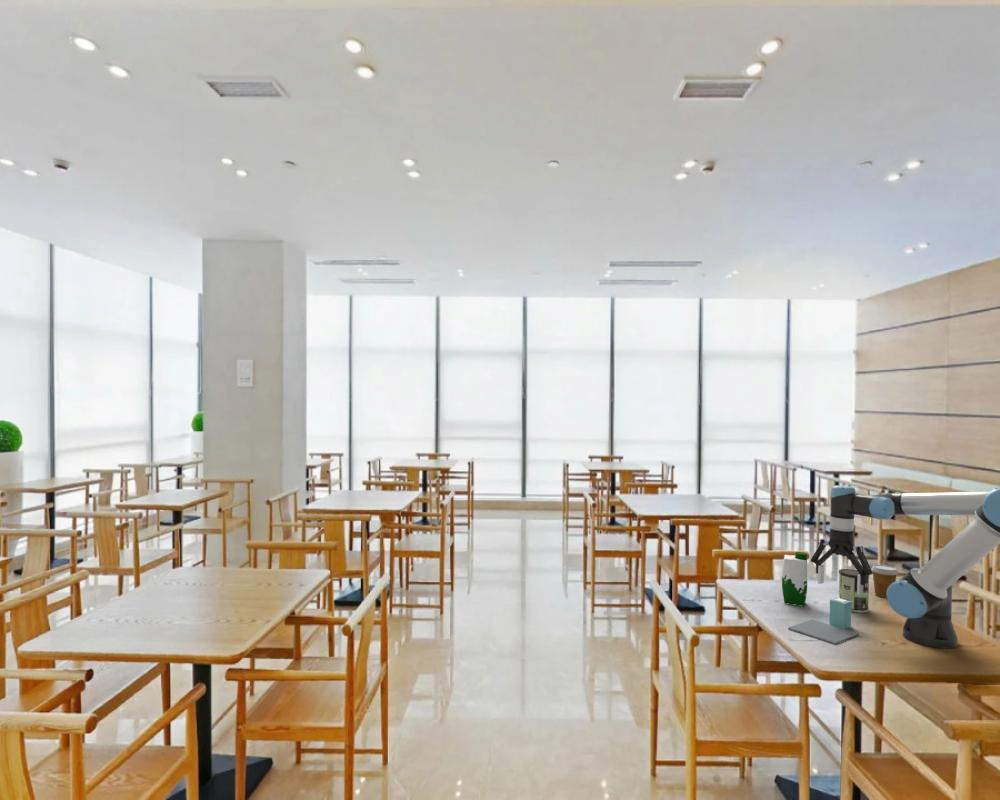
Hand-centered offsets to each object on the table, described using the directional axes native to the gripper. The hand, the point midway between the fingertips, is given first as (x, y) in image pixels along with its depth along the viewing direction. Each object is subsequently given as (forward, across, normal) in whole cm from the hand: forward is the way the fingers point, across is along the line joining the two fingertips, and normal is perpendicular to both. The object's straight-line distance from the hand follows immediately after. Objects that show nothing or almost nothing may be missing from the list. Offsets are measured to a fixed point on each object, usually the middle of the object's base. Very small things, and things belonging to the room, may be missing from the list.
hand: (839, 588), depth 214 cm
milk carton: (+14, +22, -11) cm, 29 cm away
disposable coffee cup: (+14, +8, -54) cm, 56 cm away
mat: (+13, 0, +12) cm, 18 cm away
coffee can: (+14, +6, -25) cm, 29 cm away
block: (+13, 0, 0) cm, 13 cm away
